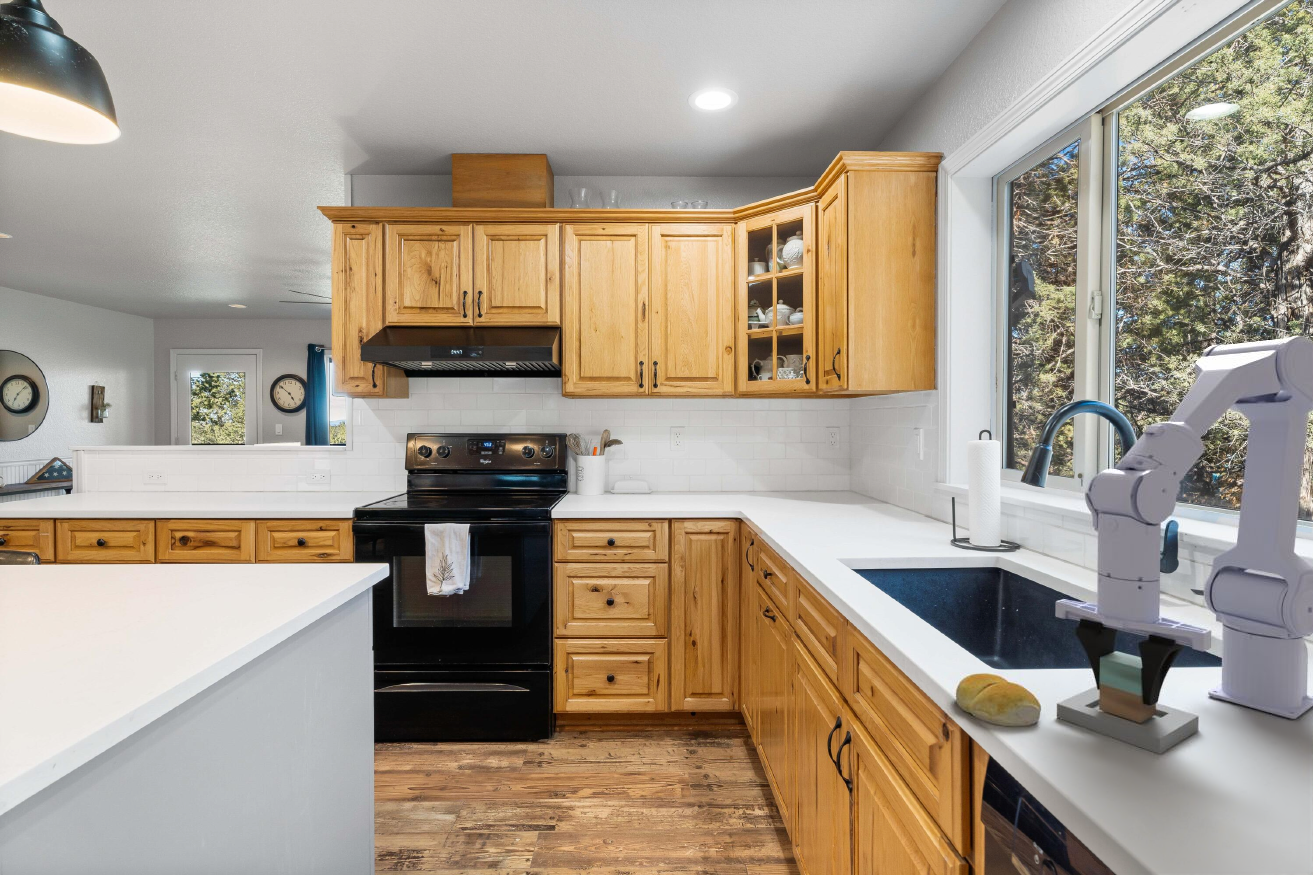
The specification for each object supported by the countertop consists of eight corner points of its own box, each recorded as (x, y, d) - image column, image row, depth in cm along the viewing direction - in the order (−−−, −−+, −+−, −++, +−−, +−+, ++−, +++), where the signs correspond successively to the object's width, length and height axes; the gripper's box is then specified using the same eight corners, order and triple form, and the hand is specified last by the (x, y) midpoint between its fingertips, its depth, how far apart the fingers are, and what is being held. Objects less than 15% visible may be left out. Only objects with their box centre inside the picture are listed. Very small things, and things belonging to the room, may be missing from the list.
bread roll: (995, 693, 82) (996, 661, 82) (1054, 724, 73) (1054, 689, 73) (938, 699, 80) (939, 667, 80) (991, 732, 72) (992, 696, 71)
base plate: (1098, 697, 80) (1098, 685, 80) (1198, 729, 72) (1198, 715, 72) (1056, 717, 75) (1056, 703, 75) (1159, 754, 66) (1159, 738, 66)
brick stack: (1115, 701, 76) (1116, 651, 76) (1155, 714, 73) (1156, 661, 73) (1099, 709, 74) (1100, 657, 74) (1140, 723, 71) (1140, 668, 70)
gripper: (1042, 567, 77) (1041, 681, 77) (1193, 594, 65) (1191, 729, 65) (1072, 561, 81) (1071, 669, 81) (1219, 585, 69) (1218, 712, 69)
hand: (1126, 695), depth 73 cm, fingers closed on brick stack, 4 cm apart
